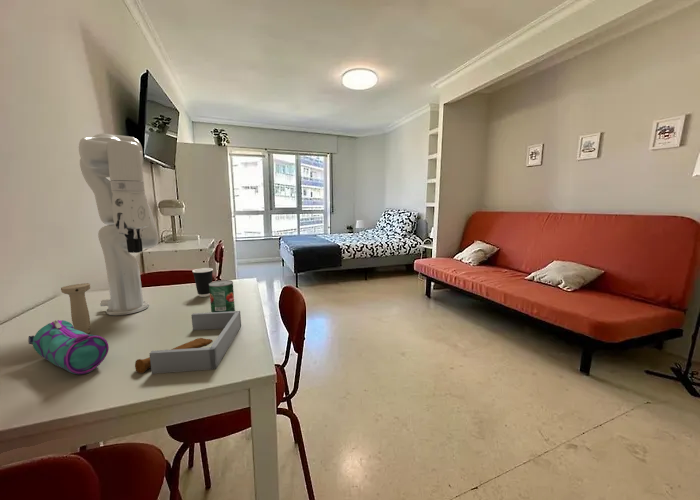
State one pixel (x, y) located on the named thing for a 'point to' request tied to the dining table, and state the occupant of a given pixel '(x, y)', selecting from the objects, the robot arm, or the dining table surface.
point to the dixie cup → (203, 280)
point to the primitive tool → (145, 364)
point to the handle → (78, 306)
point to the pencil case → (69, 347)
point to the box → (199, 356)
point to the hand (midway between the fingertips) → (135, 251)
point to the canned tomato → (222, 296)
